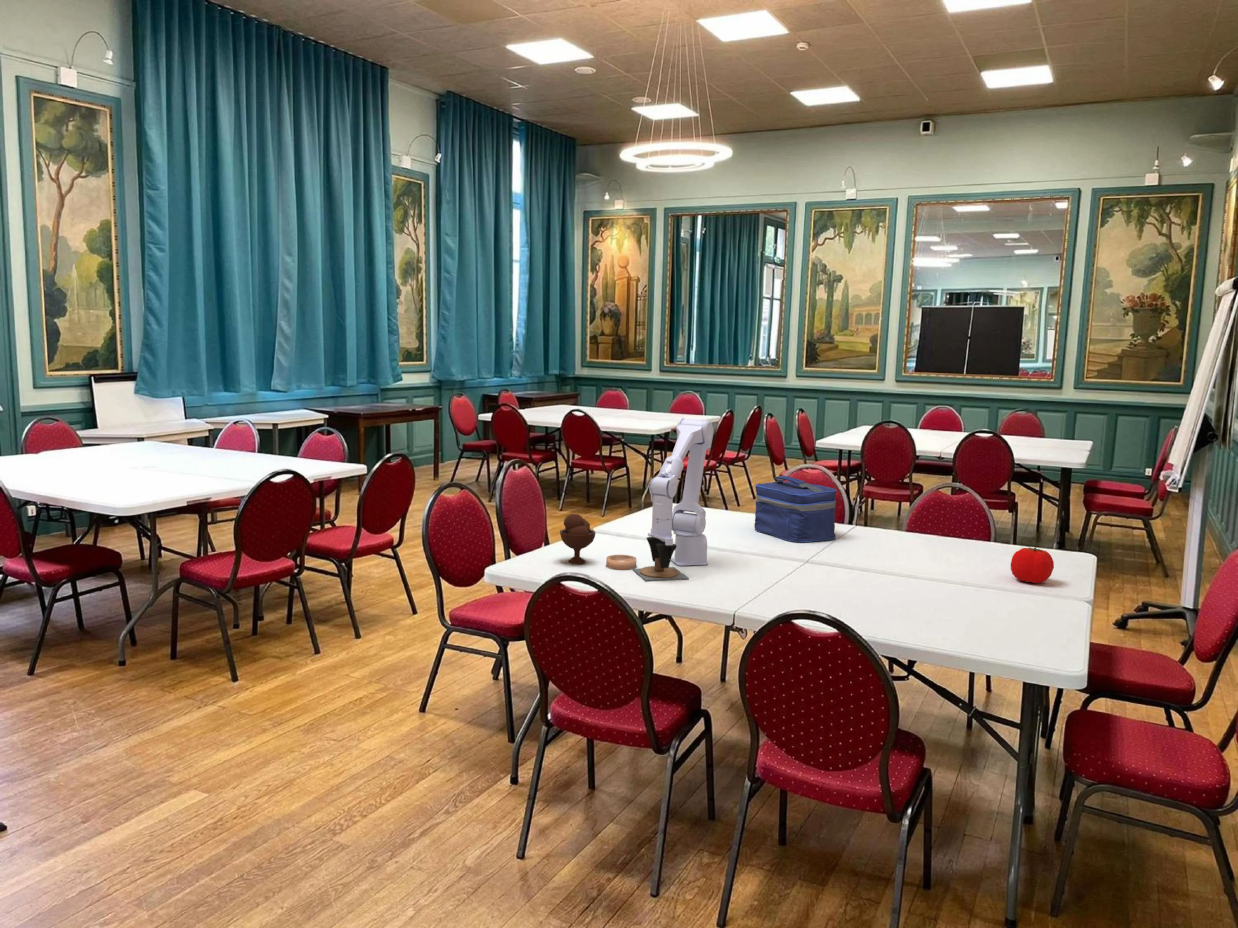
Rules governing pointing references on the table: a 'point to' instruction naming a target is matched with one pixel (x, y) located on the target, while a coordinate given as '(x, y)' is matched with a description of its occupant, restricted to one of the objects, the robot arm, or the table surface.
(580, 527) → the ice cream bowl
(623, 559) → the dish
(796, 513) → the lunch bag
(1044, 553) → the tomato
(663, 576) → the lid
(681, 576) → the mat
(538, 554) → the table surface
